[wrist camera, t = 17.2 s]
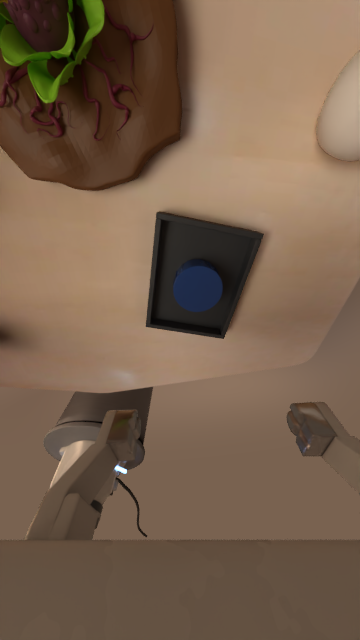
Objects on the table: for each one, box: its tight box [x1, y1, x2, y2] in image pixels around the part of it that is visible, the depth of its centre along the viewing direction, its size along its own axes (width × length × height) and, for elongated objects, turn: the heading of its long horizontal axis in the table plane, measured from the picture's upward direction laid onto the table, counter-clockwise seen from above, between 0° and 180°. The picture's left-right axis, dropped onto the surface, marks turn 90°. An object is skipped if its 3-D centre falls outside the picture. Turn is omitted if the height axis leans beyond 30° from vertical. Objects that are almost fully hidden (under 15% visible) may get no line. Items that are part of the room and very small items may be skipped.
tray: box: [146, 212, 264, 339], centre depth 25 cm, size 15×12×2 cm
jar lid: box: [173, 259, 223, 312], centre depth 24 cm, size 6×6×3 cm
